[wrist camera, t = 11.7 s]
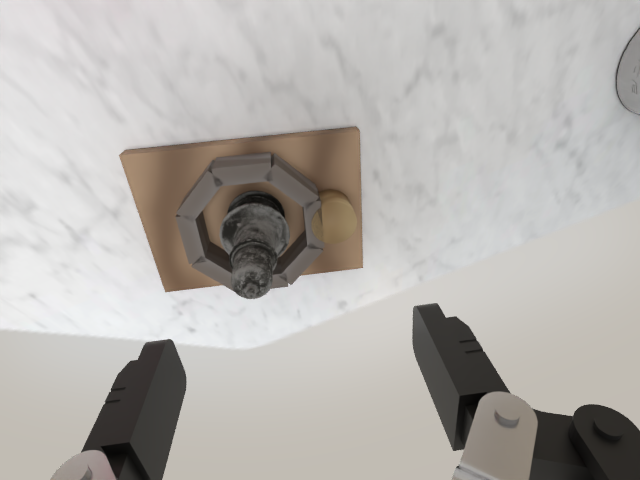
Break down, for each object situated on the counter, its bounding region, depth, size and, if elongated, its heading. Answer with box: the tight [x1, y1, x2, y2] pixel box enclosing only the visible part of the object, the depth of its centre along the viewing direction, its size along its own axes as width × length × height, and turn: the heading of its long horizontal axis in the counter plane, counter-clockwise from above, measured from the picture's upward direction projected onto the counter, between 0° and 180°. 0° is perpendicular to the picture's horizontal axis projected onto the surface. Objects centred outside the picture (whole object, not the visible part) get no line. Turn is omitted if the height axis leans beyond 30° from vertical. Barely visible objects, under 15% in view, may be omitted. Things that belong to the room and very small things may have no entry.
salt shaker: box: [219, 191, 290, 299], centre depth 30 cm, size 6×6×12 cm
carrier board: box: [119, 127, 363, 292], centre depth 35 cm, size 20×14×4 cm
